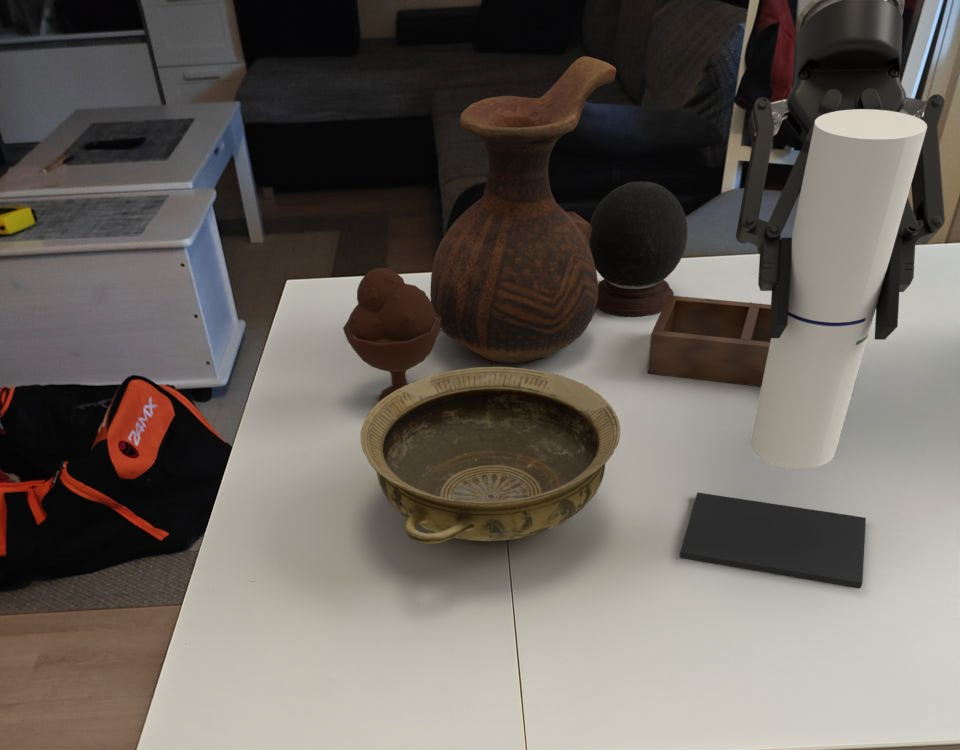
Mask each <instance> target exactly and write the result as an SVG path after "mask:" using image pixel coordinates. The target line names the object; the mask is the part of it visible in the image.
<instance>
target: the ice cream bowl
mask: <svg viewBox="0 0 960 750" xmlns="http://www.w3.org/2000/svg"><path fill="white" fill-rule="evenodd" d="M356 300H357V305H356V306H355V307H354V308H353V309H352V311H351V313H350V314H349V317H348V320H347V321H346V323H345V324H344V326H343V327H342V330H343V332H344V335H345V338H346V340H347V342H348V344H349V345H350V347H351V348H352V349H353V351H354V352H355V353H356V354H357V356H358V357H359V358H360V359H361V361H363V362H365V363H366V364H367V365H369V366H370V367H372V368H375V369H377V370H380V371H384V372H389V374H390V378H391V385H390V386H388V387H386V388H384V389H382V391H381V392H380V394H379V396H378V400H377V403H378V402H379V401H381V400H382V399H383V398H385V397H386V396H388V395H389V394H391V393H392V392H394V391H396V390H398V389H400V388H402V387H404V386H406V385H408V384H409V383H408V382H407V381H408V380H407V374H406V372H407V371H408V370H410V369H412V368H414V367H416V366H417V365H419V364H420V363H423V362H424V360H426V358H427V357H429V355H430V354H431V352H432V350H433V348H434V346H435V344H436V342H437V340H438V337H439V334H440V331H441V328H440V324H441V318H440V317H439V316H438V315H437V314H436V313H435V311H434V307H433V304H432V303H431V299H430V298H429V297H428V295H427V294H426V291H424V290H423V289H420V287H417V286H416V285H415V284H410V283H405V280H404V278H403V277H402V276H401V275H400V274H398V273H397V272H396V271H394V270H392V269H390V268H387V267H378V268H374V269H372V270H370V271H368V272H367V273H366V274H365V275H364V276H363V277H362V279H361V280H360V282H359V283H358V286H357V290H356Z"/></svg>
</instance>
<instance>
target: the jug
mask: <svg viewBox="0 0 960 750" xmlns="http://www.w3.org/2000/svg"><path fill="white" fill-rule="evenodd" d="M616 74H617V68H616V67H615V66H614V65H612V64H610V63H609V62H607V61H604V60H601V59H598V58H595V57H591V56H581V57H578V58H577V59H576V60H574V62H573V63H571V65H570V66H568V68H567V69H566V70H565V71H564V72H563V74H562V75H561V76H560V77H559V79H558V80H557V81H555V83H554V84H553V85H552V86H551V87H550V88H549V89H548V90H547V91H546V92H545V93H544V94H543V95H542V96H540V97H539V98H538V97H526V96H516V95H501V96H493V97H488V98H484V99H480V100H478V101H476V102H473V103H471V104H469V106H468V107H466V108H465V109H463V111H462V113H461V114H460V117H459V124H460V126H461V127H462V128H463V129H464V130H465V131H467V132H469V133H471V134H473V135H476V136H478V137H479V138H480V140H481V142H482V144H483V146H484V148H485V151H486V154H487V161H488V172H487V178H486V181H485V182H486V183H485V187H484V191H483V192H484V193H483V195H482V197H481V198H479V199H478V200H477V201H476V202H474V203H473V204H472V205H471V206H469V207H468V208H467V209H465V211H464V212H462V214H461V215H460V216H458V218H457V219H456V220H455V221H454V222H453V223H452V225H451V226H450V227H449V229H448V230H447V232H446V233H445V234H444V236H443V238H442V239H441V241H440V243H439V245H438V247H437V249H436V252H435V254H434V259H433V261H432V268H431V273H430V290H429V291H430V294H429V295H430V301H431V303H432V304H433V307H434V311H435V313H436V314H437V315H438V316H439V317H440V318H441V324H440V331H442V332H443V334H445V336H447V337H448V338H450V339H451V340H454V341H455V342H457V343H459V344H461V345H462V346H464V347H466V348H467V349H469V350H470V351H472V352H474V353H475V354H477V355H479V356H480V357H482V358H485V359H487V360H489V361H492V362H495V363H500V364H521V363H528V362H531V361H532V362H533V361H536V360H540V359H542V358H545V357H547V356H550V355H551V354H553V353H555V352H557V351H560V350H561V349H563V348H565V347H566V346H568V345H570V344H572V343H573V342H574V341H576V340H577V339H578V338H580V336H582V334H583V333H584V332H585V331H586V329H587V328H588V327H589V325H590V324H591V321H592V319H593V317H594V315H595V312H596V308H597V307H596V305H597V300H598V284H599V281H598V271H597V270H596V268H595V264H594V260H593V256H592V253H591V249H590V244H589V243H590V236H591V232H592V226H591V225H590V222H588V221H587V220H585V219H584V218H583V217H582V216H580V215H578V214H577V213H576V212H575V211H565V210H564V209H563V208H562V206H560V204H559V203H558V202H556V199H555V198H554V195H553V193H552V190H551V184H550V179H549V163H550V156H551V153H552V151H553V149H554V147H555V144H556V143H557V142H558V140H559V139H560V138H562V137H563V136H564V135H566V134H567V133H571V132H573V131H574V129H576V128H577V125H578V124H579V122H580V119H581V115H582V112H583V109H584V107H585V106H586V103H587V99H588V98H589V96H590V95H591V94H592V93H593V92H594V91H595V90H596V89H597V88H600V87H602V86H604V85H606V84H611V83H612V82H614V81H616V80H615V79H616Z"/></svg>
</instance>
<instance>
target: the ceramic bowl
mask: <svg viewBox="0 0 960 750" xmlns="http://www.w3.org/2000/svg"><path fill="white" fill-rule="evenodd" d="M407 384H408V385H406V386H404V387H402V388H400V389H398V390H396V391H394V392H392V393H391V394H389V395H388V396H386V397H385V398H383V399H382V400H381V401H379V402H378V401H377V403H376V404H375V405H374V406H373V407H372V408H371V409H370V411H369V412H368V413H367V415H366V417H365V419H364V421H363V423H362V427H361V430H360V444H361V448H362V452H363V454H364V456H365V458H366V459H367V462H368V464H370V466H371V467H372V469H374V470H375V472H376V476H377V480H378V484H379V486H380V489H381V492H382V493H383V495H384V496H385V498H386V499H387V501H388V502H389V503H390V504H391V506H392V507H393V508H394V509H395V510H397V511H398V512H399V513H400V514H401V515H402V516H403V517H405V518H406V521H405V524H404V530H405V533H406V535H407V537H409V538H410V540H412V541H415V542H416V543H419V544H424V545H434V544H440V543H444V542H446V541H449V540H452V539H453V538H456V539H462V540H467V541H475V542H476V541H477V542H499V541H507V540H508V541H510V540H517V539H522V538H525V537H528V536H529V537H530V536H533V535H538V534H540V533H543V532H545V531H548V530H550V529H553V528H555V527H557V526H559V525H561V524H564V522H566V521H568V520H569V519H571V518H573V516H575V515H576V514H577V513H580V511H581V510H583V508H584V507H586V506H587V505H588V504H589V502H591V500H592V499H593V497H594V496H595V495H596V494H597V492H598V490H599V488H600V487H601V484H602V482H603V478H604V475H605V471H606V463H608V461H609V460H610V459H611V458H612V456H613V454H614V453H615V451H616V449H617V448H618V445H619V442H620V437H621V425H620V419H619V417H618V415H617V413H616V411H615V410H614V408H613V407H612V405H611V404H610V403H609V401H608V400H607V399H605V398H604V397H603V396H602V394H600V393H598V392H597V391H596V390H594V389H593V388H591V387H590V386H589V385H587V384H584V383H581V382H579V381H577V380H574V379H572V378H569V377H566V376H563V375H560V374H556V373H552V372H547V371H542V370H536V369H529V368H521V367H511V366H481V367H479V366H478V367H477V366H476V367H468V368H467V367H466V368H460V369H454V370H449V371H445V372H440V373H435V374H432V375H429V376H424V377H422V378H420V379H417V380H415V381H413V382H410V383H407ZM417 526H419V527H421V528H423V529H425V530H428V531H430V532H429V533H428V532H426V533H425V532H422V531H419V530H417V529H416V528H417Z"/></svg>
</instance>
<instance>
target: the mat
mask: <svg viewBox="0 0 960 750" xmlns="http://www.w3.org/2000/svg"><path fill="white" fill-rule="evenodd" d="M866 521H867V518H866V517H865V516H857V515H852V514H844V513H839V512H838V513H836V512H831V511H824V510H817V509H811V508H805V507H797V506H792V505H791V506H790V505H784V504H778V503H770V502H766V501H765V502H764V501H758V500H752V499H744V498H737V497H731V496H725V495H719V494H711V493H704V492H696V495H695V498H694V503H693V506H692V510H691V512H690V517H689V520H688V524H687V527H686V531H685V534H684V538H683V542H682V545H681V548H680V552H679V558H684V559H689V560H695V561H699V562H707V563H713V564H720V565H725V566H730V567H736V568H742V569H748V570H752V571H753V570H755V571H759V572H766V573H772V574H778V575H784V576H790V577H795V578H801V579H807V580H813V581H819V582H825V583H831V584H835V585H836V584H837V585H842V586H849V587H854V588H862V585H863V580H864V562H865V561H864V559H865V557H864V556H865V541H866Z"/></svg>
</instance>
